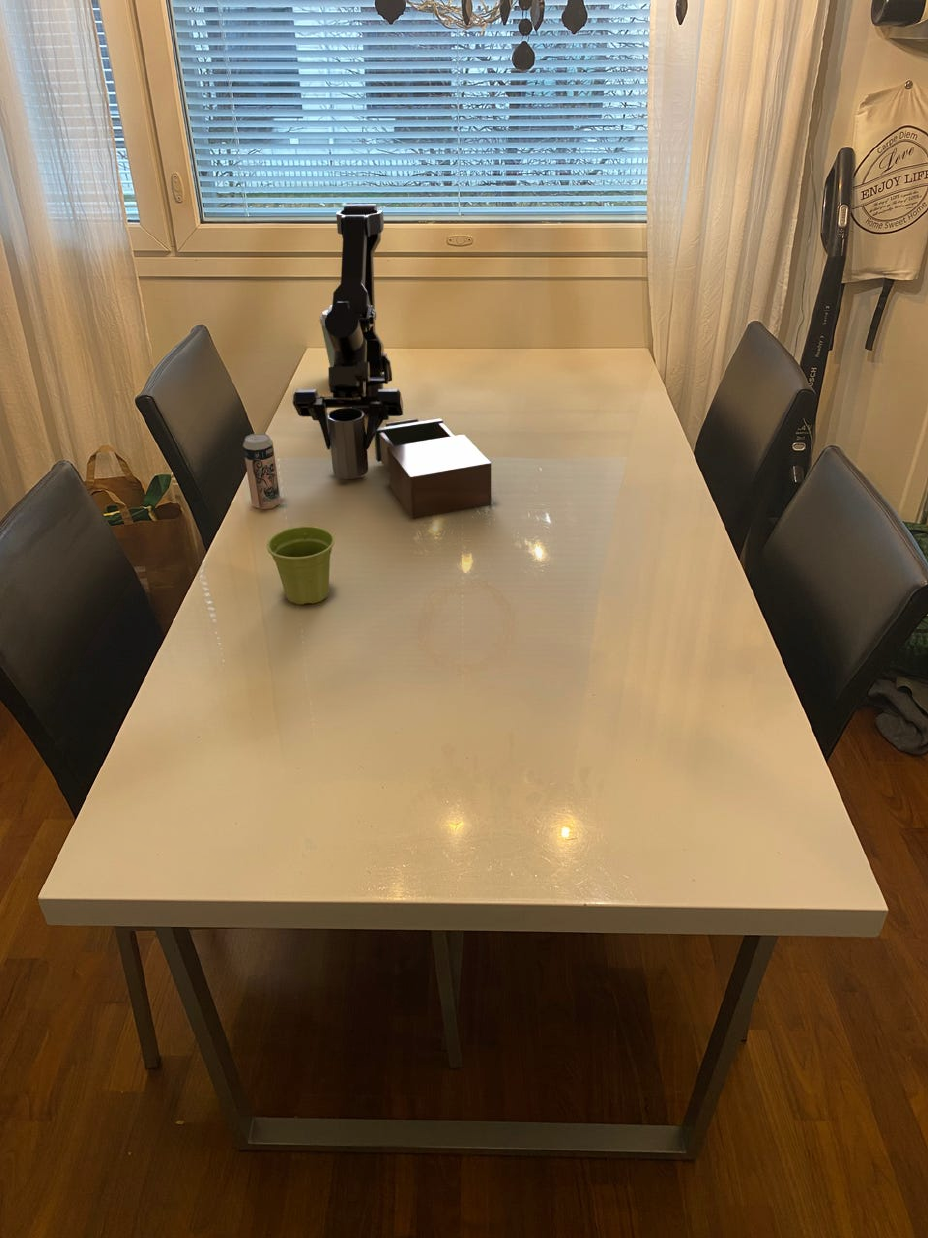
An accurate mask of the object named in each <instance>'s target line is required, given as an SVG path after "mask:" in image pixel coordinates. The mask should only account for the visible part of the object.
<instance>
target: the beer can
mask: <svg viewBox="0 0 928 1238" xmlns="http://www.w3.org/2000/svg"><path fill="white" fill-rule="evenodd" d="M242 449H243V455H244V461H245V467H246V468H245V469H246V474H247V480H248V486H249V493H250V500H251V504H252V506H253V507H255V508H257V509H260V510H271V509H273V508H275V507H276V506H279V504H280V503H281V493H280V487H279V486H280V485H279V479H278V471H277V463H276V456H275V451H274V449H275V448H274V441H273V440H272V439H271V437H270V436H269V435H268V434H267V433H259V432H258V433H252V434H251V433H250V434H249V435H247V436H246V437H245V438H244V441H243V443H242Z"/></svg>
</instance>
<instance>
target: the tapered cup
mask: <svg viewBox="0 0 928 1238" xmlns="http://www.w3.org/2000/svg"><path fill="white" fill-rule="evenodd" d="M327 414H328V415H327V418H328V428H329V438H330V456H331V465H332V467H331V468H332V472H333V475H334V476H335V477H337V478H340V479H345V480H346V479H349V480H350V479H351V480H352V479H358V478H362V477H363V476H365V475H366V474H367V473H368V472H369V468H370V467H369V458H368V449H366V448H365V437H366V420H365V414H364V413H363V411H361V410H359V409H355V408H335V409H334V410H331V411H329V412H328V413H327Z"/></svg>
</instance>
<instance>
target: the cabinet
mask: <svg viewBox="0 0 928 1238" xmlns="http://www.w3.org/2000/svg"><path fill="white" fill-rule="evenodd" d="M387 455H388V470H389V473H388V480H389V481H388V485H389V488H390V490H391V492H392V493H393V494H394V496H395V497H396V498H397V499H398V501H399V502H400V504H401V505H402V507H403V508H404V509H405V510H406V513H408V515H409V516H410V518H411V519H419V518H425V517H430V516H434V515H440V514H446V513H451V512H456V511H462V510H468V509H472V508H478V507H483V506H489V505H492V462H491V461H490V459H488V458H487V456H485V455H484V454H483V453H482V452H481V451H480V450H479V449H478V447H477V446H476V445H474V443H473V442H472V441H471V440H470V439H469V438H468V437H467V436H466V435H465V434H459V435H454V436H452V437H446V438H440V439H434V440H428V441H421V442H415V443H409V444H403V445H397V446H390V447H387Z"/></svg>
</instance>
